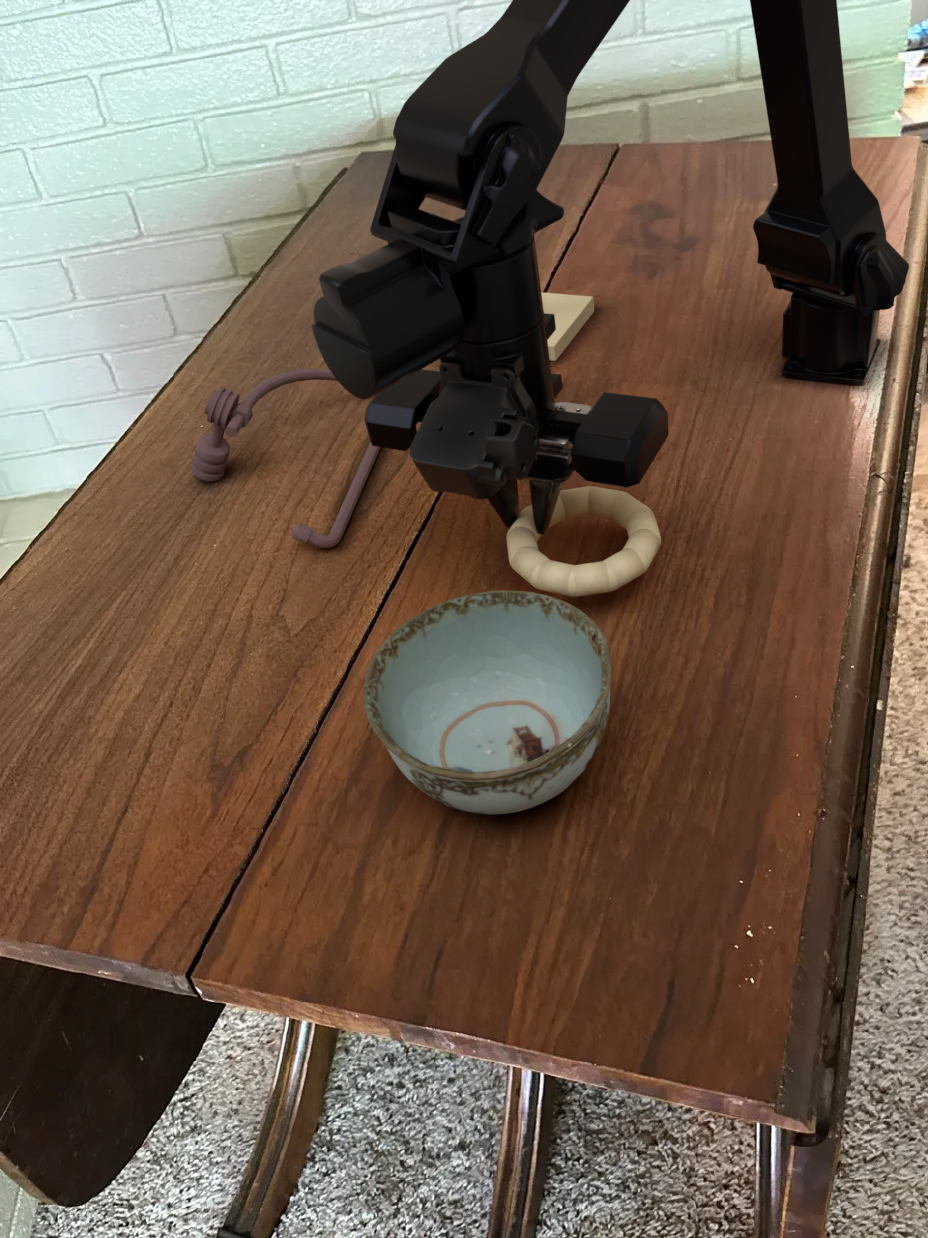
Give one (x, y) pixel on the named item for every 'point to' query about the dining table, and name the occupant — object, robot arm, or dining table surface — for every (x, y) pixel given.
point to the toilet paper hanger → (235, 416)
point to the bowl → (492, 699)
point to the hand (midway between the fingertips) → (527, 527)
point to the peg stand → (566, 318)
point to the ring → (588, 575)
